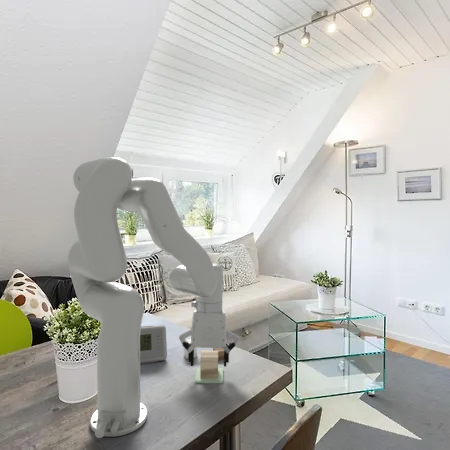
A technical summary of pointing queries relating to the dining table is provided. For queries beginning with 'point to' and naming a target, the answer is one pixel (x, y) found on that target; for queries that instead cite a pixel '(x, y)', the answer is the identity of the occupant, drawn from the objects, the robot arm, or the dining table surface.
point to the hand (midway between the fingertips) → (208, 364)
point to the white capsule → (187, 351)
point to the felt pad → (219, 380)
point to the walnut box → (220, 353)
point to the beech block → (209, 365)
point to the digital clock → (153, 344)
